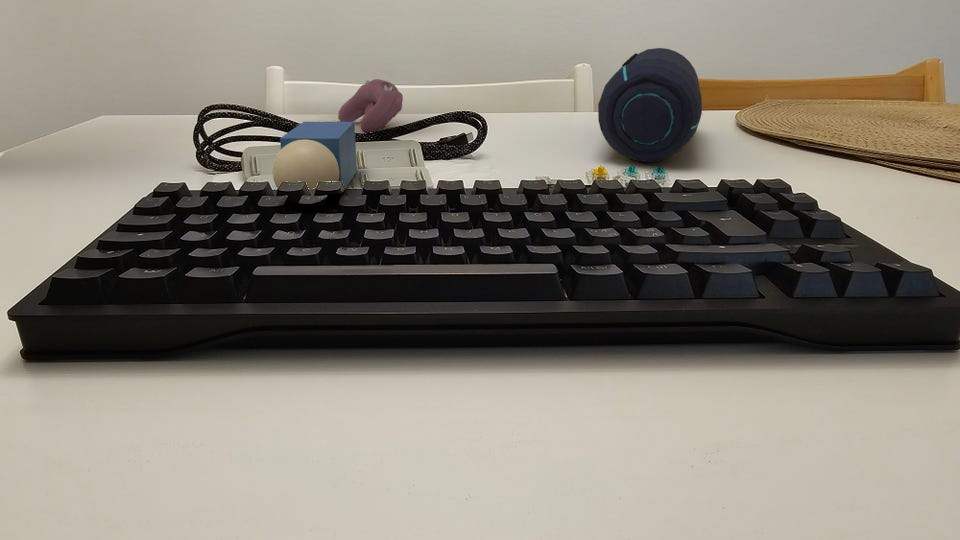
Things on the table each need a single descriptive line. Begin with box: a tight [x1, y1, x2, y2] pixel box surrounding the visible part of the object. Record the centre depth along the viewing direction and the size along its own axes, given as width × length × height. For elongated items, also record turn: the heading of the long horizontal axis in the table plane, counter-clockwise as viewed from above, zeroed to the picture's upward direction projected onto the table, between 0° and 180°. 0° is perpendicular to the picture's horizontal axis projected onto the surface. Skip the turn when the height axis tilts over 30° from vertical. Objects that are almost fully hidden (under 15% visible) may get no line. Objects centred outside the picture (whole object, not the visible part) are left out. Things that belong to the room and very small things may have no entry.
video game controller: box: [337, 78, 404, 134], centre depth 86 cm, size 10×5×7 cm, turn 29°
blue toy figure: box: [272, 121, 358, 189], centre depth 57 cm, size 5×5×14 cm
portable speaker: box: [597, 47, 703, 163], centre depth 75 cm, size 25×10×10 cm, turn 164°
